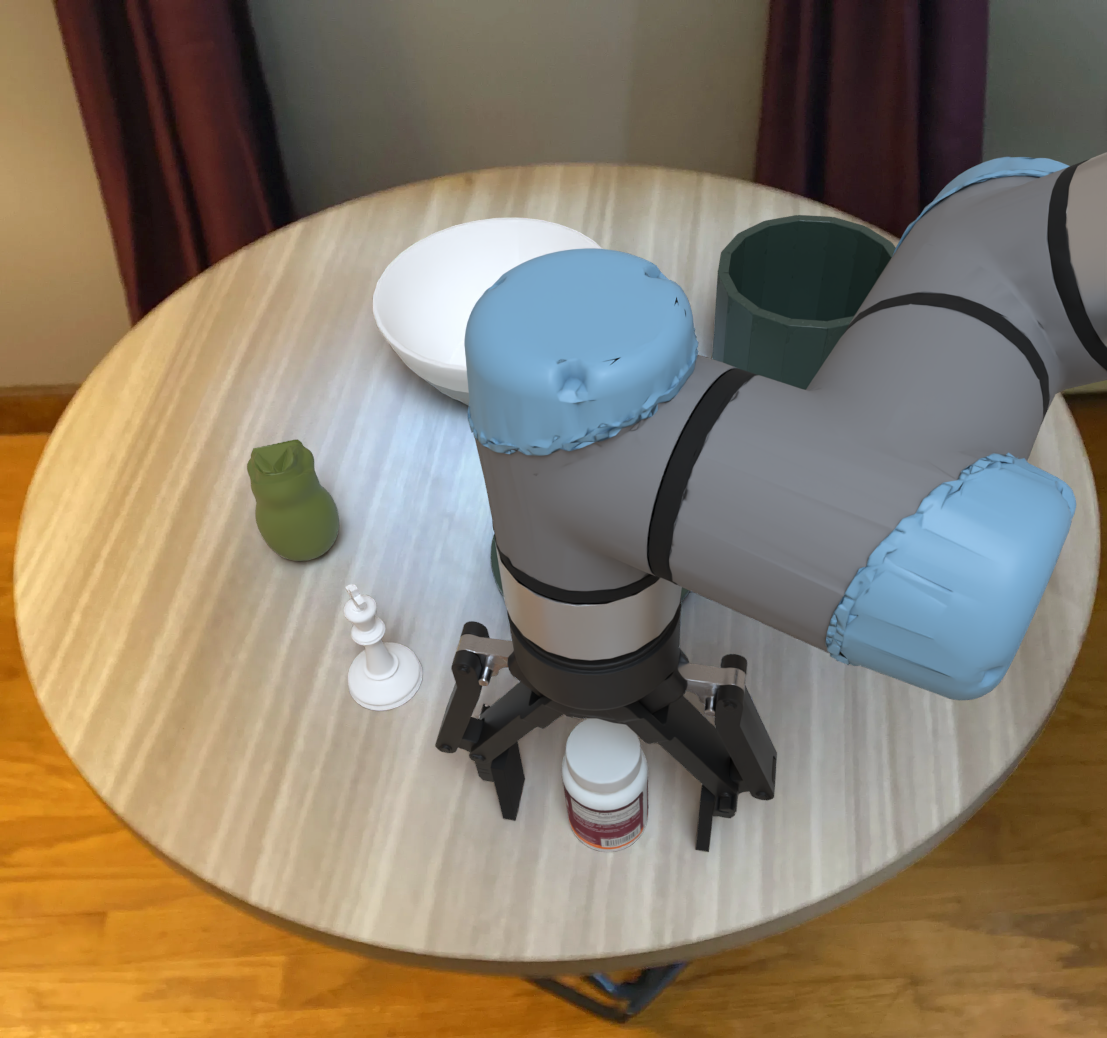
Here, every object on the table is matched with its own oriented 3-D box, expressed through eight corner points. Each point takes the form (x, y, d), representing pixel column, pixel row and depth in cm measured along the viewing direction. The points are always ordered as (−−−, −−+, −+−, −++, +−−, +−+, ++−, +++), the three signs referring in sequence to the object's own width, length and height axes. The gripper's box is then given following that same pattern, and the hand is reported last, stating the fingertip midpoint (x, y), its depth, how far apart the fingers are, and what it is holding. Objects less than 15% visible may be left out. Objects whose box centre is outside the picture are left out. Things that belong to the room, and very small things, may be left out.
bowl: (362, 439, 83) (339, 361, 76) (424, 289, 95) (409, 211, 89) (602, 459, 80) (598, 379, 73) (634, 302, 92) (633, 221, 85)
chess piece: (371, 725, 66) (335, 637, 58) (335, 673, 69) (296, 583, 61) (436, 683, 68) (410, 592, 60) (398, 634, 70) (368, 542, 63)
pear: (273, 582, 74) (230, 489, 66) (270, 527, 77) (230, 432, 70) (350, 565, 74) (316, 471, 67) (344, 512, 78) (312, 416, 70)
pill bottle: (583, 768, 63) (576, 697, 57) (658, 792, 62) (659, 722, 55) (555, 838, 60) (544, 772, 54) (633, 866, 59) (631, 801, 52)
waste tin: (882, 327, 87) (905, 219, 79) (882, 441, 79) (909, 333, 71) (720, 316, 90) (727, 210, 82) (703, 425, 81) (710, 319, 73)
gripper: (873, 553, 44) (811, 784, 61) (363, 498, 48) (436, 729, 65) (873, 706, 40) (805, 910, 56) (308, 630, 44) (402, 842, 60)
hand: (607, 813), depth 61 cm, fingers open, 11 cm apart
